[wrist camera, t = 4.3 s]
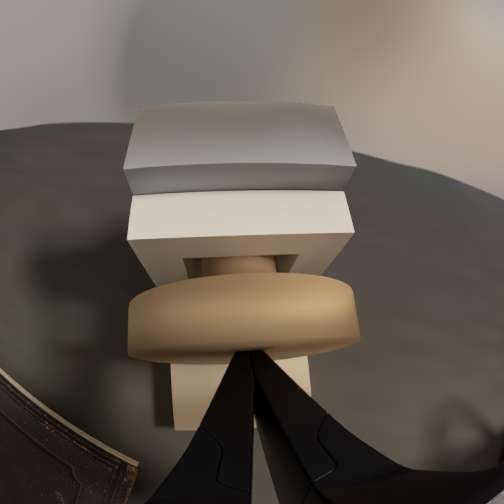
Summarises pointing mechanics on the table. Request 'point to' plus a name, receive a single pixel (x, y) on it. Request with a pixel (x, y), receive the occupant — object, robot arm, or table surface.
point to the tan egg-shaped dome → (241, 314)
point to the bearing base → (234, 184)
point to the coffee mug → (502, 456)
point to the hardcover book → (55, 457)
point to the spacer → (237, 229)
